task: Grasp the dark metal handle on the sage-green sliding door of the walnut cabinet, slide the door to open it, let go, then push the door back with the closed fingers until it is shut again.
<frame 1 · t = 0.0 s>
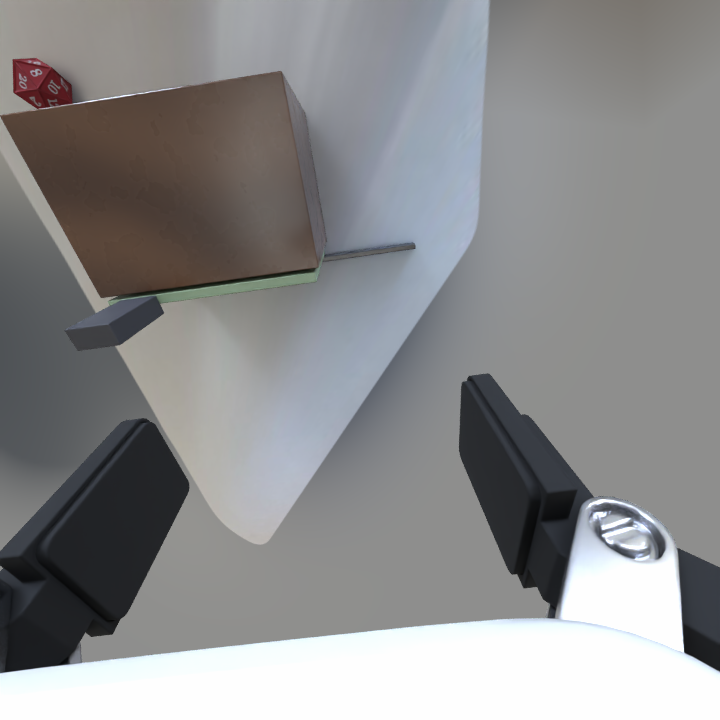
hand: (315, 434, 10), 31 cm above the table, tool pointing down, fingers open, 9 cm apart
dice: (63, 94, 29), on the table
cabinet: (234, 194, 34), on the table
sliding door: (226, 285, 29), point 10 cm above the table, slide at 0.0 cm
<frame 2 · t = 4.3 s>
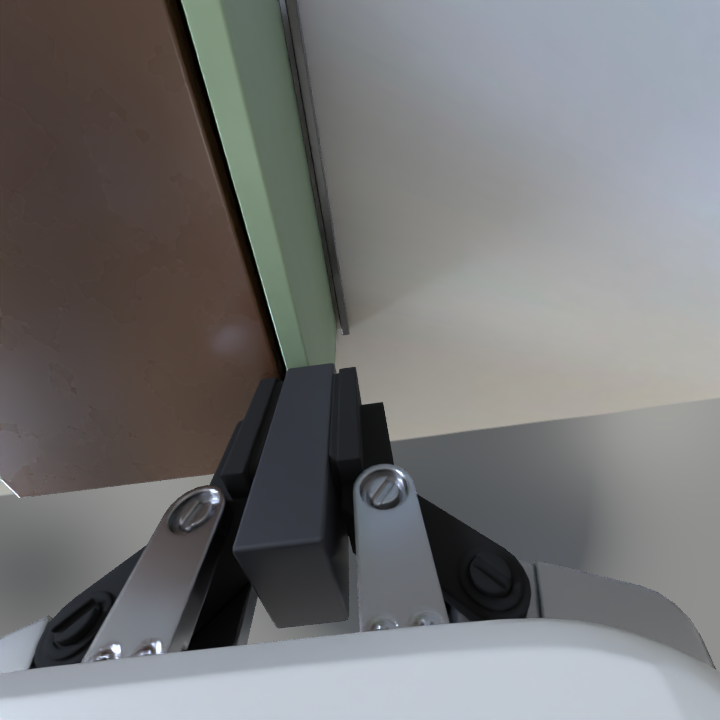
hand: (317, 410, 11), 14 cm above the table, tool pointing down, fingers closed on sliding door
cabinet: (203, 214, 20), on the table
sliding door: (292, 209, 11), point 10 cm above the table, slide at 0.0 cm, touching gripper
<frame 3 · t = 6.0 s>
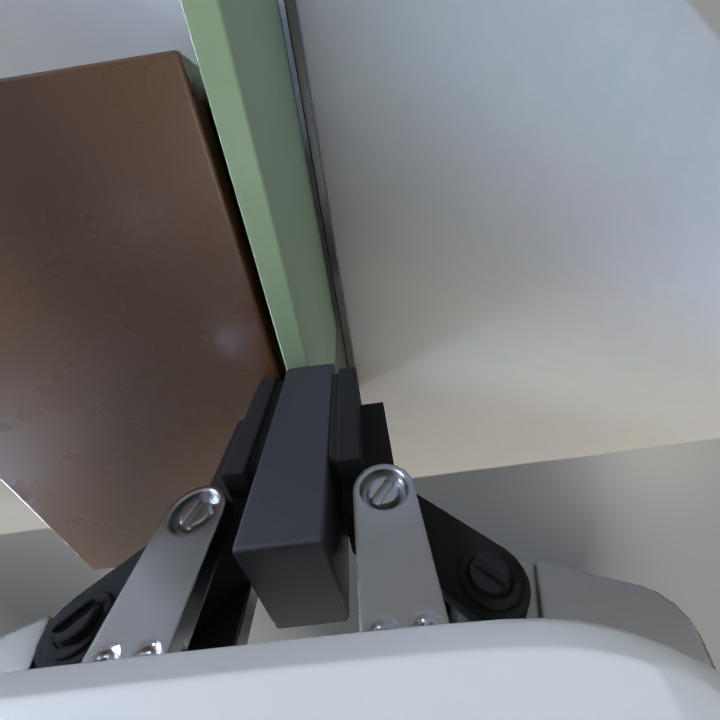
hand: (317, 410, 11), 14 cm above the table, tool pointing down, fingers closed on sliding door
cabinet: (232, 299, 22), on the table
sliding door: (292, 209, 11), point 10 cm above the table, slide at 5.5 cm, touching gripper
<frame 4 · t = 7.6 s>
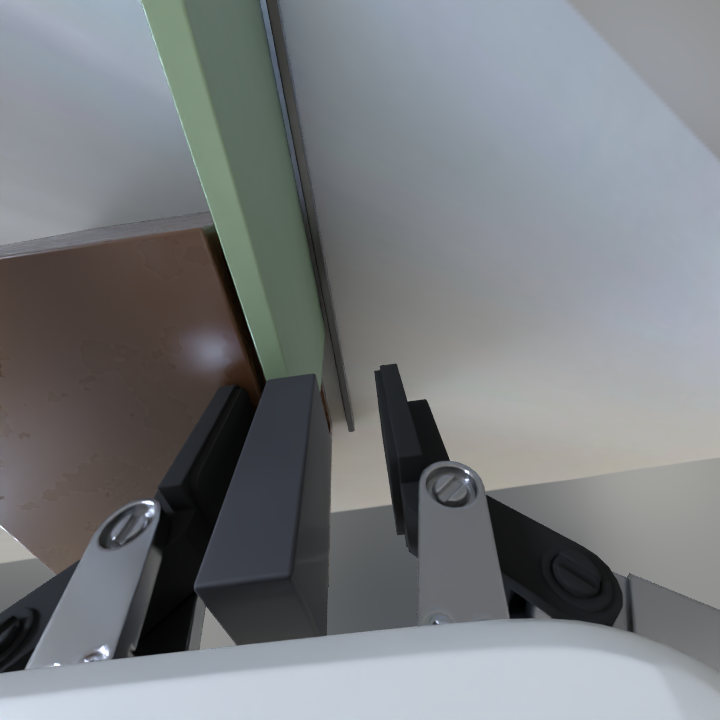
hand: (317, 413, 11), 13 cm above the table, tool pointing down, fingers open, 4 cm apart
cabinet: (233, 345, 24), on the table
sliding door: (271, 213, 11), point 10 cm above the table, slide at 8.9 cm
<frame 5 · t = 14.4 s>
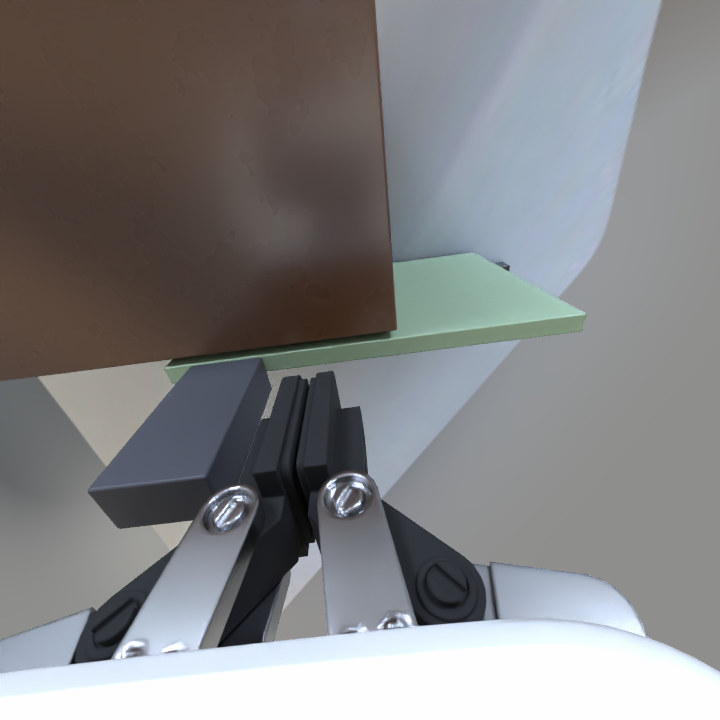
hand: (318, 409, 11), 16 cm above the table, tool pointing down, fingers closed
cabinet: (229, 186, 21), on the table
sliding door: (368, 326, 16), point 10 cm above the table, slide at 7.9 cm, touching gripper
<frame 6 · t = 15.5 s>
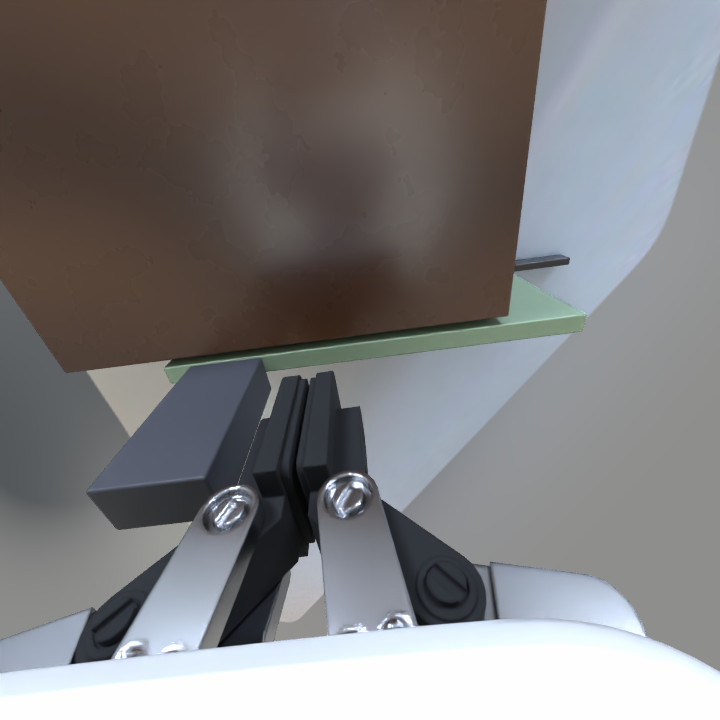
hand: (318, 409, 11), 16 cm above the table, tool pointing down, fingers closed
cabinet: (294, 177, 21), on the table
sliding door: (368, 327, 16), point 10 cm above the table, slide at 3.5 cm, touching gripper
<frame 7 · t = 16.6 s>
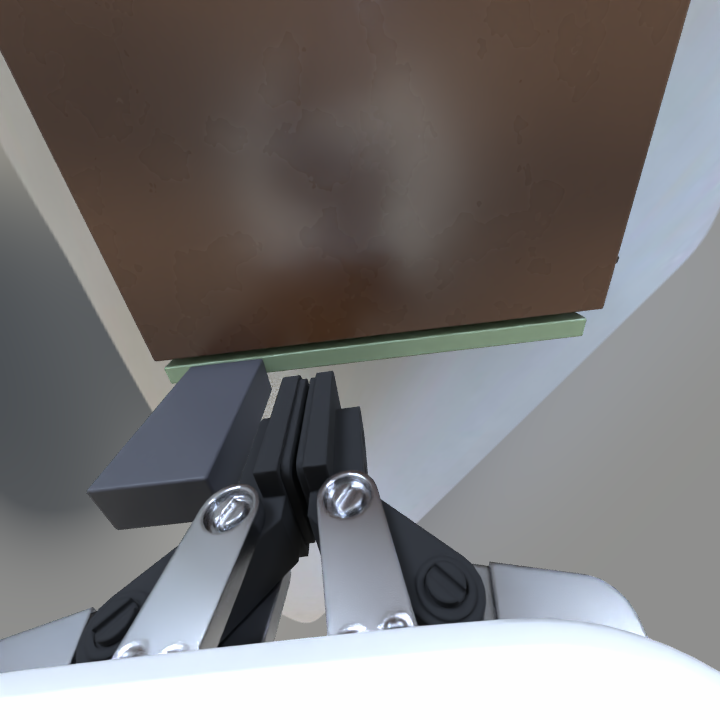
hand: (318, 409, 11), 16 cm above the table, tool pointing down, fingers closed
cabinet: (351, 172, 21), on the table
sliding door: (369, 329, 16), point 10 cm above the table, slide at -0.2 cm, touching gripper
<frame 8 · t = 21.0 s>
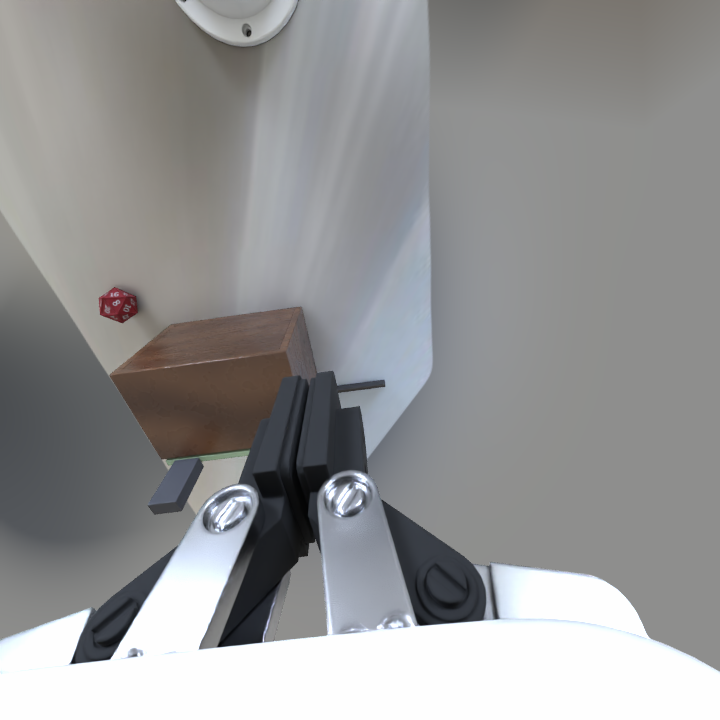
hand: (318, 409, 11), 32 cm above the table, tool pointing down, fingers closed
dice: (129, 299, 41), on the table
cabinet: (249, 354, 45), on the table
sliding door: (245, 437, 41), point 10 cm above the table, slide at 0.0 cm
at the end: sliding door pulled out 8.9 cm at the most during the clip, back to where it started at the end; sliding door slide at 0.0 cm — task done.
